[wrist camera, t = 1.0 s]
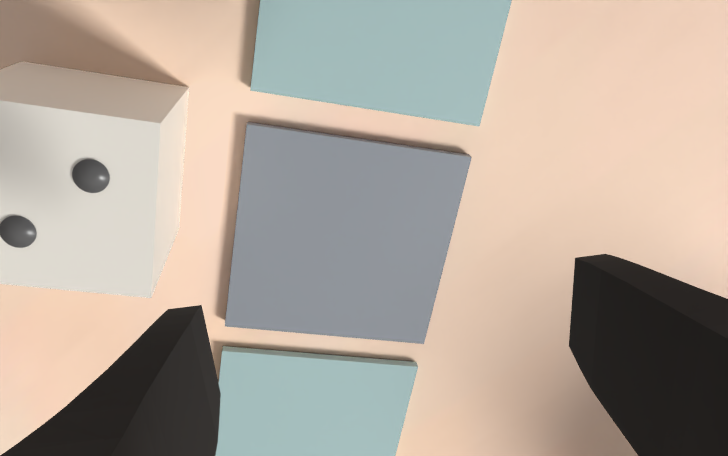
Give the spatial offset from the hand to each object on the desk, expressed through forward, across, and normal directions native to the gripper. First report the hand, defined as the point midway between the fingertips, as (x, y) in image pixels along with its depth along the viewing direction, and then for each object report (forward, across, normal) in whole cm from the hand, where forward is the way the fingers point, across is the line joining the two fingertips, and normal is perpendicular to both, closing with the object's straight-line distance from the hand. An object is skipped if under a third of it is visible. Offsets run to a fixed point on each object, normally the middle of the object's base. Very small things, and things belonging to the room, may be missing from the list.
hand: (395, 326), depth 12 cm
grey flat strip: (+8, 0, +2) cm, 9 cm away
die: (+8, +7, -2) cm, 11 cm away
